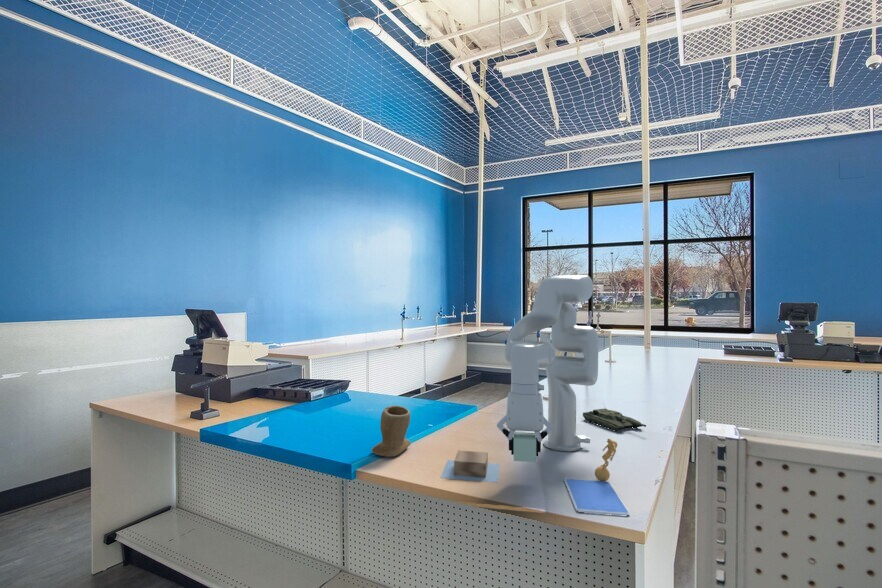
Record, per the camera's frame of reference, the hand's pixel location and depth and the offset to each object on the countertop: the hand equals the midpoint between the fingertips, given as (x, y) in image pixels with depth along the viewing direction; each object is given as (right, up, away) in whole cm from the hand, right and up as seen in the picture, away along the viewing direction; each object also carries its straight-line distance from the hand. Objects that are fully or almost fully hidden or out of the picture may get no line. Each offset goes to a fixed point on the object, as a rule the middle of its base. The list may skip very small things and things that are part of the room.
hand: (524, 453), depth 119 cm
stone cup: (-39, -9, +24) cm, 46 cm away
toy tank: (+50, -11, +58) cm, 77 cm away
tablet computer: (+17, -9, -8) cm, 20 cm away
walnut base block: (-14, -8, +7) cm, 18 cm away
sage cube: (0, -1, 0) cm, 1 cm away
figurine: (+24, -9, +2) cm, 25 cm away
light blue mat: (-14, -8, +7) cm, 18 cm away
